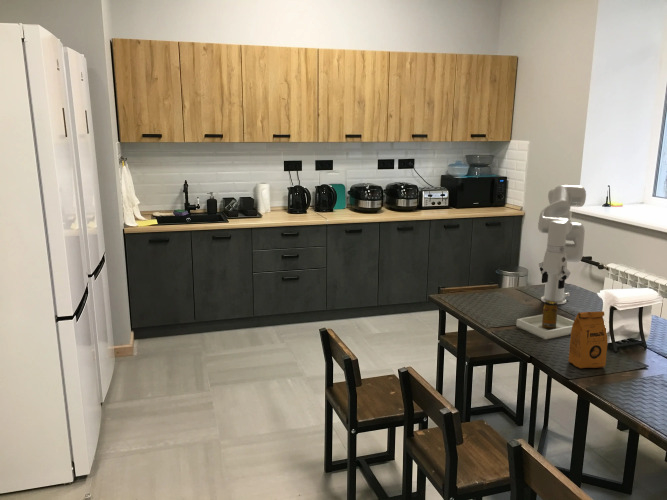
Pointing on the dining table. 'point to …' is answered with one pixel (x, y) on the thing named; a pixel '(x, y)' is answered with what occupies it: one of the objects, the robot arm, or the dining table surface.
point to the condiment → (549, 316)
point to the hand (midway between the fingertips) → (552, 285)
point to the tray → (535, 321)
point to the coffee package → (588, 340)
